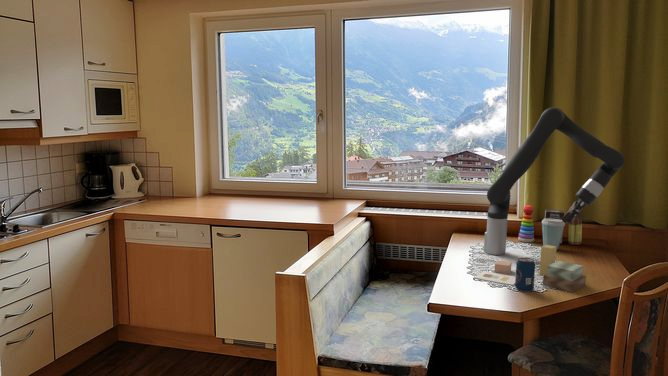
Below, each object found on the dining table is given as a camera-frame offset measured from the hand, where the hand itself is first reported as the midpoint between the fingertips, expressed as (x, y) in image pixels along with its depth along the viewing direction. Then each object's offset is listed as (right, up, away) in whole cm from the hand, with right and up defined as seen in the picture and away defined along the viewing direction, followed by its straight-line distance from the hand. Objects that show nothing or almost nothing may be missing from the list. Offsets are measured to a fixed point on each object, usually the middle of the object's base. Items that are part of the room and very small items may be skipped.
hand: (564, 221), depth 248 cm
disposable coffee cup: (+7, -16, +35) cm, 39 cm away
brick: (-27, -22, -2) cm, 35 cm away
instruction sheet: (-32, -23, -11) cm, 41 cm away
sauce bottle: (+23, -14, +45) cm, 53 cm away
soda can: (-25, -25, -24) cm, 43 cm away
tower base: (-8, -24, -19) cm, 32 cm away
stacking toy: (0, -13, +50) cm, 52 cm away
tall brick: (-10, -22, -5) cm, 24 cm away
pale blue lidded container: (+14, -13, +50) cm, 54 cm away
